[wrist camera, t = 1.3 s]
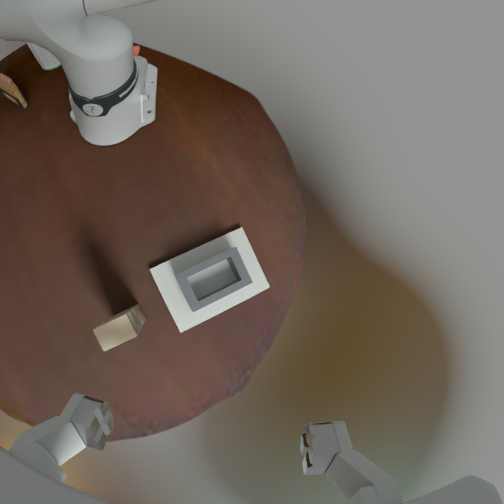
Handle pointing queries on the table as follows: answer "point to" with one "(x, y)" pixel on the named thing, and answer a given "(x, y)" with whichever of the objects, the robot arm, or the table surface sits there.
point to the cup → (44, 57)
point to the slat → (120, 328)
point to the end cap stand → (209, 279)
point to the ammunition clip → (12, 92)
